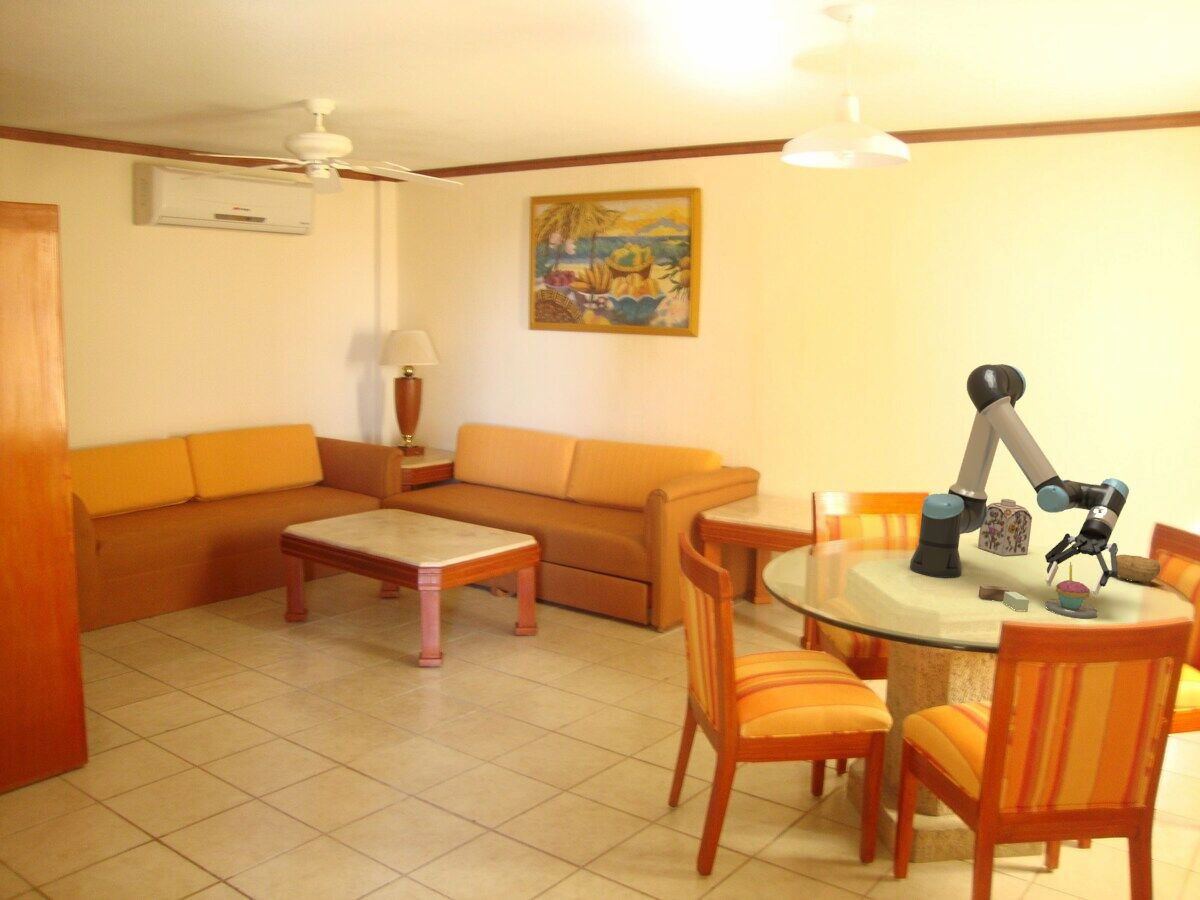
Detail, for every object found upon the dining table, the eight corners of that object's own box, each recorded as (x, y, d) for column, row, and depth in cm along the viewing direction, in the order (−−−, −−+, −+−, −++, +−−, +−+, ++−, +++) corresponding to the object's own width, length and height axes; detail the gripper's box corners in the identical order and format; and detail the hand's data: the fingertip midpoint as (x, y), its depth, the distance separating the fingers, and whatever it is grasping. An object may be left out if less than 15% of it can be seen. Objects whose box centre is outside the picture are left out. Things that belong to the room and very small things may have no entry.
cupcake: (1046, 602, 282) (1052, 560, 281) (1070, 600, 285) (1076, 559, 283) (1070, 612, 274) (1076, 569, 273) (1095, 610, 277) (1100, 567, 276)
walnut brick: (981, 600, 286) (983, 588, 285) (978, 596, 289) (980, 584, 289) (1007, 602, 285) (1009, 590, 284) (1004, 599, 288) (1005, 587, 288)
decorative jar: (976, 548, 351) (982, 496, 348) (1001, 546, 356) (1007, 496, 353) (1003, 556, 340) (1010, 504, 338) (1028, 555, 345) (1035, 503, 343)
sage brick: (1002, 603, 283) (1004, 591, 283) (1014, 604, 284) (1016, 592, 283) (1015, 611, 276) (1016, 599, 276) (1027, 612, 277) (1029, 599, 276)
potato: (1114, 573, 327) (1118, 549, 326) (1162, 584, 318) (1166, 559, 316) (1103, 578, 320) (1107, 553, 319) (1152, 589, 311) (1156, 563, 309)
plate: (1044, 612, 277) (1045, 608, 276) (1045, 601, 288) (1046, 597, 288) (1097, 621, 271) (1098, 617, 271) (1096, 609, 283) (1096, 605, 283)
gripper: (1052, 510, 292) (1023, 570, 283) (1142, 527, 275) (1115, 591, 267) (1057, 526, 296) (1029, 585, 287) (1146, 543, 280) (1119, 607, 271)
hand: (1070, 588), depth 277 cm, fingers open, 11 cm apart
